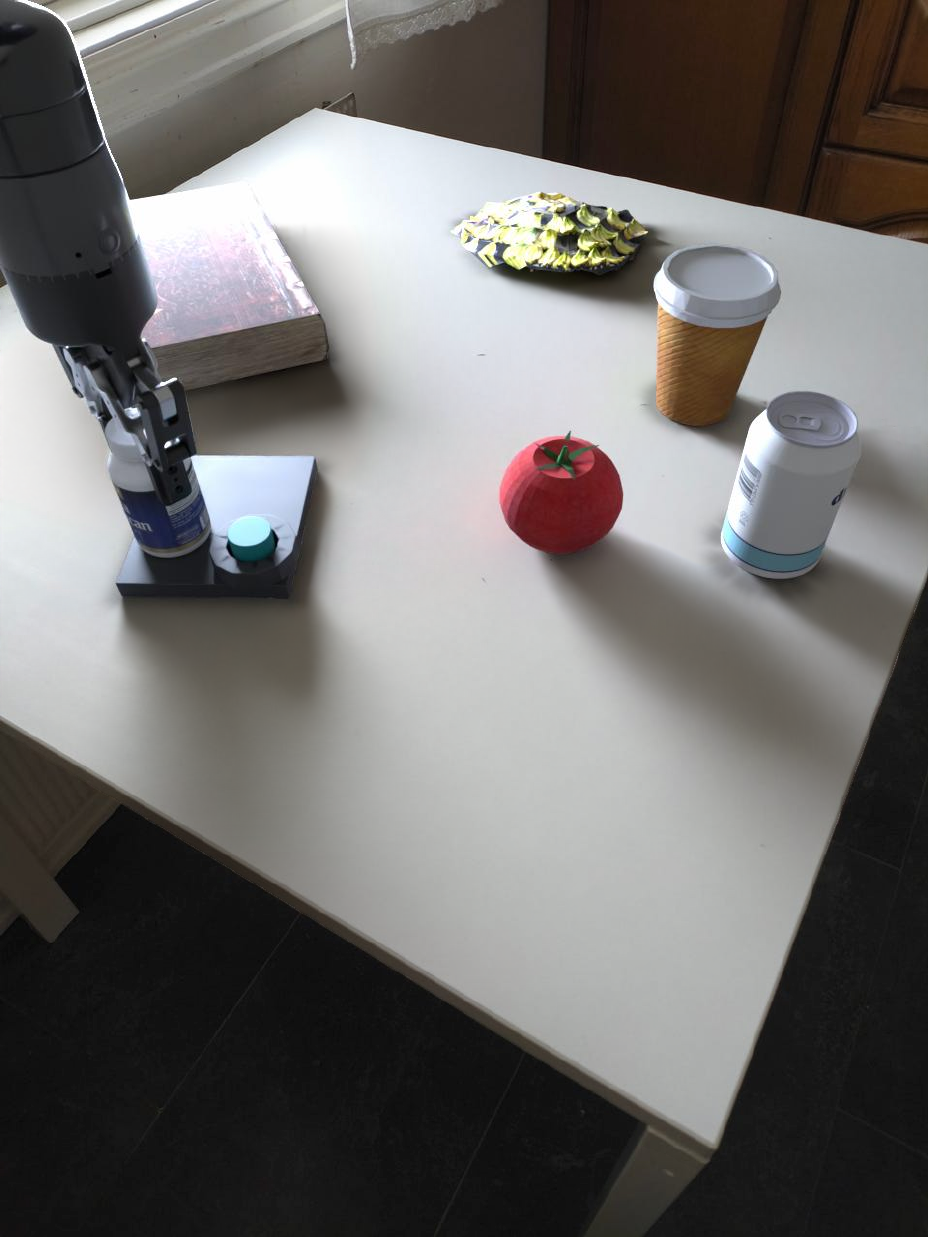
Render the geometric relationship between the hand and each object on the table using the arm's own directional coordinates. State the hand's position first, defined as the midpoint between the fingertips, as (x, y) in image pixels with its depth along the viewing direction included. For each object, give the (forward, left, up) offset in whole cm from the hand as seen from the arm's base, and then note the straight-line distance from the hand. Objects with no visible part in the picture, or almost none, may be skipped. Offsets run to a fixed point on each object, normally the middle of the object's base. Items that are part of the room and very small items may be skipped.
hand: (153, 476), depth 62 cm
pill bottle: (0, 0, -6) cm, 6 cm away
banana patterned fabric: (+46, -28, -7) cm, 54 cm away
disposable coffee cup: (+18, -40, -7) cm, 44 cm away
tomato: (+2, -28, -7) cm, 29 cm away
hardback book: (+34, +6, -7) cm, 36 cm away
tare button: (-2, -6, -4) cm, 8 cm away
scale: (+2, -3, -7) cm, 8 cm away
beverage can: (0, -43, -7) cm, 44 cm away
